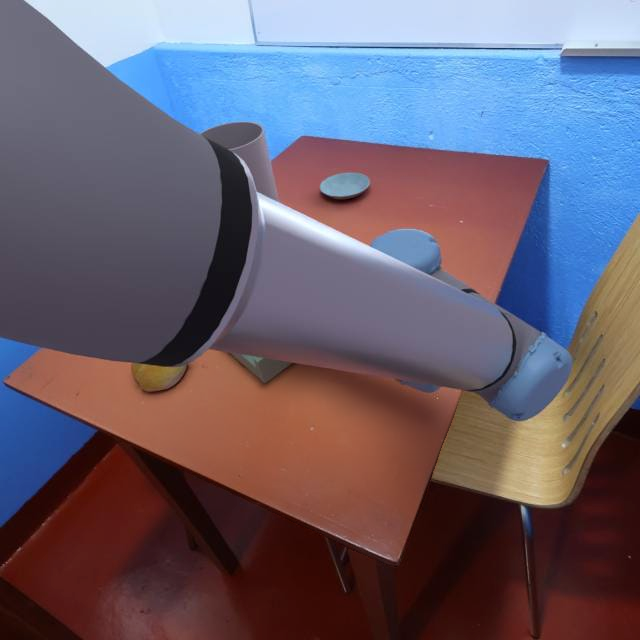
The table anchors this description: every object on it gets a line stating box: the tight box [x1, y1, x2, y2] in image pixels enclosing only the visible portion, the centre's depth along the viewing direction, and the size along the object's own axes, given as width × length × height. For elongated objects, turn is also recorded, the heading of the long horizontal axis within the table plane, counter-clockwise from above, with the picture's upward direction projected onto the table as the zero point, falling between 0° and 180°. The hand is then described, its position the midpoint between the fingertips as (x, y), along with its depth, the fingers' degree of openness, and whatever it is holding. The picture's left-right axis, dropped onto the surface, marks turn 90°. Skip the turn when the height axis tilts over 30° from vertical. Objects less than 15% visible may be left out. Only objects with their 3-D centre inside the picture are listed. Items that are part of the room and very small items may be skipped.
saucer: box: [319, 172, 371, 200], centre depth 111 cm, size 12×12×2 cm
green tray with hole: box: [228, 352, 293, 384], centre depth 77 cm, size 12×18×7 cm, turn 43°
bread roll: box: [130, 363, 188, 393], centre depth 75 cm, size 8×9×4 cm
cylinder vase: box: [199, 121, 280, 203], centre depth 88 cm, size 12×12×25 cm
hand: (220, 271), depth 74 cm, fingers closed on salt shaker, 3 cm apart
